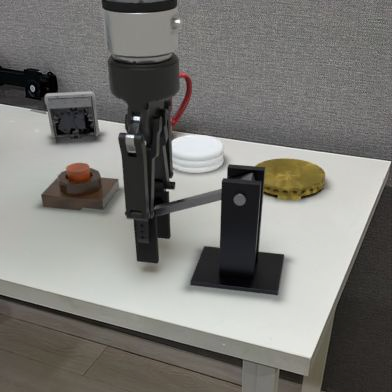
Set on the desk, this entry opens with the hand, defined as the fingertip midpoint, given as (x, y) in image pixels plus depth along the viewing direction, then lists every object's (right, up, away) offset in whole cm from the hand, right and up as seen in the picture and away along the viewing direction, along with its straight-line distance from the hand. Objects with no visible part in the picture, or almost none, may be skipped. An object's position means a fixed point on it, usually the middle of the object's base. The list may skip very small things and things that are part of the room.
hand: (154, 248), depth 73 cm
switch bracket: (+11, -4, 0) cm, 12 cm away
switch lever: (+6, +4, -5) cm, 9 cm away
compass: (+21, +14, +21) cm, 33 cm away
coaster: (+5, +20, +28) cm, 35 cm away
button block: (-13, +11, +17) cm, 24 cm away
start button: (-13, +14, +15) cm, 24 cm away
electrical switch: (-18, +27, +37) cm, 49 cm away
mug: (-1, +28, +37) cm, 46 cm away
